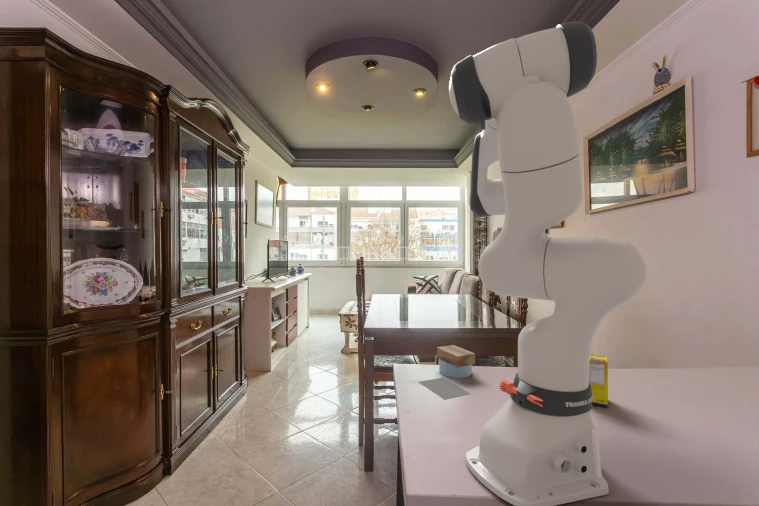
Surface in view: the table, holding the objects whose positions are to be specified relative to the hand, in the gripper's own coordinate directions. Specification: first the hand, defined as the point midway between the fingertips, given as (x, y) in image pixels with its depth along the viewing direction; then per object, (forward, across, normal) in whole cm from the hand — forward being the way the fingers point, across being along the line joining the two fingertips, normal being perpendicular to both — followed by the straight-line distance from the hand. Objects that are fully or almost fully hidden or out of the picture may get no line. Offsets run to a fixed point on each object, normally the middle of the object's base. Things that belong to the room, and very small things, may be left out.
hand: (520, 276), depth 97 cm
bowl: (+30, -15, +10) cm, 35 cm away
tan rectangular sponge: (+25, -15, +10) cm, 31 cm away
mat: (+30, -25, +2) cm, 39 cm away
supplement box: (+30, +4, -18) cm, 35 cm away
